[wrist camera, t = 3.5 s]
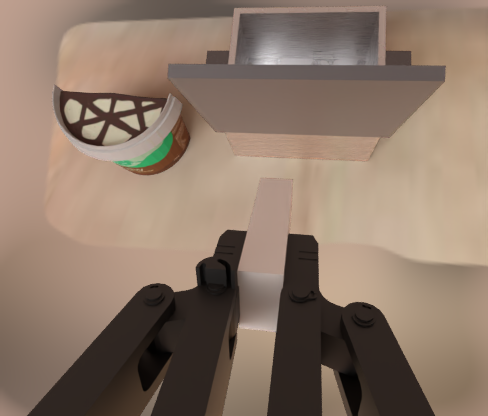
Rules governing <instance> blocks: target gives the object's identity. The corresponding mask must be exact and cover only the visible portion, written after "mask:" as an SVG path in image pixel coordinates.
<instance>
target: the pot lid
mask: <svg viewBox="0 0 488 416" xmlns="http://www.w3.org/2000/svg"><path fill="white" fill-rule="evenodd" d="M445 68H446V66H407V65H253V64H169V65H168V79H169V80H170V81H171V82H172V84H173V85H174V86H175V87H176V88H177V89H178V90H179V91H180V92H181V94H182V95H183V96H184V97H185V98H186V99H187V100H188V101H189V103H190V104H191V105H192V106H193V107H194V108H195V109H196V110H197V112H198V113H199V114H200V115H201V116H202V117H203V118H204V119H205V120H206V122H207V123H208V124H209V125H210V126H211V127H212V128H213V129H214V131H215V132H230V133H260V134H291V135H321V136H352V137H382V138H389V137H390V136H391V135H392V134H393V133H394V132H395V131H396V130H397V129H398V128H399V127H400V126H401V125H402V124H403V123H404V122H405V121H406V120H407V119H408V118H409V117H410V116H411V115H412V114H413V113H414V112H415V111H416V110H417V109H418V108H419V107H420V106H421V105H422V104H423V103H424V102H425V101H426V100H427V99H428V98H429V97H430V96H431V95H432V94H433V93H434V92H435V91H436V90H437V89H438V88H439V87H440V86H441V85H442V84H443V83H444V82H445Z"/></svg>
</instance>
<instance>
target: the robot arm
mask: <svg viewBox="0 0 488 416" xmlns="http://www.w3.org/2000/svg"><path fill="white" fill-rule="evenodd" d="M292 189H293V179H276V178H261V179H260V183H259V187H258V191H257V195H256V199H255V203H254V207H253V211H252V215H251V219H250V223H249V227H248V231H236V230H227V231H226V232H224V233H223V234H222V235H221V236H220V238H219V241H218V244H217V247H216V249H215V253H214V255H213V257H209V258H206V259H203V260H202V261H200V262H199V263H198V264H197V266H196V275H197V284H198V286H197V287H195V288H193V289H190V290H186V291H180V292H173V290H172V289H171V287H169V286H167V285H166V284H160V283H156V284H150V285H148V286H145V287H143V288H142V289H141V290H140V291H138V292H137V293H136V294H135V296H134V297H133V298H132V299H131V300H130V301H129V302H128V303H127V305H126V306H125V307H124V308H123V309H122V310H121V311H120V313H118V315H117V316H116V317H115V318H114V319H113V320H112V321H111V322H110V324H109V325H108V326H107V327H106V328H105V329H104V330H103V331H102V332H101V334H100V335H99V336H98V337H97V338H96V339H95V340H94V341H93V343H92V344H91V345H90V346H89V347H88V348H87V349H86V350H85V352H84V353H83V354H82V355H81V356H80V357H79V359H77V361H76V362H75V363H74V364H73V365H72V366H71V367H70V368H69V370H68V371H67V372H66V373H65V374H64V375H63V376H62V377H61V379H60V380H59V381H58V382H57V383H56V384H55V385H54V386H53V387H52V389H51V390H50V391H49V392H48V393H47V394H46V395H45V396H44V397H43V399H42V400H41V401H40V402H39V403H38V404H37V405H36V406H35V408H34V409H33V410H32V411H31V412H30V413H29V414H28V415H27V416H140V415H141V413H142V412H143V410H144V409H145V407H146V406H147V404H148V402H149V401H150V399H151V398H152V396H153V395H154V393H155V391H156V390H157V388H158V387H159V385H160V384H161V382H162V381H163V383H162V386H161V389H160V391H159V394H158V397H157V400H156V403H155V406H154V408H153V411H152V414H151V416H222V414H223V408H224V404H225V398H226V393H227V389H228V384H229V379H230V374H231V369H232V364H233V359H234V354H235V349H236V344H237V328H238V323H239V328H244V329H253V330H262V331H271V332H276V339H275V348H274V357H273V366H272V375H271V385H270V394H269V403H268V412H267V416H322V394H321V393H322V388H321V364H322V365H324V366H327V367H329V368H332V369H333V371H334V375H335V378H336V381H337V384H338V388H339V391H340V394H341V397H342V400H343V404H344V407H345V410H346V413H347V416H435V415H434V412H433V411H432V409H431V407H430V405H429V403H428V401H427V399H426V397H425V395H424V393H423V391H422V389H421V387H420V385H419V383H418V381H417V379H416V377H415V375H414V373H413V371H412V369H411V367H410V366H409V363H408V362H407V360H406V358H405V356H404V354H403V352H402V350H401V348H400V346H399V344H398V342H397V340H396V338H395V336H394V334H393V332H392V330H391V328H390V326H389V324H388V323H387V320H386V318H385V317H384V315H383V314H382V312H381V311H380V310H379V309H377V308H376V307H375V306H373V305H370V304H368V303H364V302H355V303H350V304H348V305H347V306H346V307H341V306H338V305H335V304H333V303H331V302H329V301H327V300H326V299H325V298H324V297H323V296H322V294H321V293H320V291H319V275H318V274H319V273H318V272H319V269H318V243H317V241H316V240H315V238H314V236H313V235H299V234H290V225H291V207H292ZM163 379H164V380H163Z"/></svg>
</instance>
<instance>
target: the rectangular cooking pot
mask: <svg viewBox="0 0 488 416" xmlns="http://www.w3.org/2000/svg"><path fill="white" fill-rule="evenodd" d="M206 64H253V65H407V66H411V51H386V6H345V7H343V6H342V7H276V8H234V16H233V25H232V34H231V43H230V51H207V59H206ZM225 133H226V136H227V138H228V140H229V143H230V145H231V147H232V150H233V152H234V154H235V156H257V157H281V158H305V159H329V160H353V161H368V159H369V157H370V155H371V153H372V151H373V150H374V148H375V146H376V144H377V142H378V140H379V138H380V137H352V136H321V135H291V134H260V133H230V132H225Z"/></svg>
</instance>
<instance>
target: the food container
mask: <svg viewBox="0 0 488 416" xmlns="http://www.w3.org/2000/svg"><path fill="white" fill-rule="evenodd" d="M52 104H53V110H54V113H55V117H56V119H57V122H58V124H59V126H60V128H61V130H62V131H63V133H64V134H65V135H66V137H67V138H68V139H69V140H70V142H71V143H72V144H73V145H74V146H75V147H76V148H77V149H78V150H79V151H81V152H82V153H84V154H86V155H87V156H90V157H92V158H95V159H98V160H104V161H112V162H114V163H116V164H118V165H119V166H121V167H123V168H125V169H127V170H129V171H131V172H133V173H136V174H140V175H154V174H158V173H161V172H163V171H165V170H167V169H169V168H170V167H172V166H173V165H174V164H175V163H177V162H178V161H179V159H180V158H181V157H182V156H183V154H184V152H185V151H186V149H187V146H188V144H189V140H190V136H189V134H188V131H187V129H186V126H185V124H184V122H183V119H182V117H181V115H180V113H181V109H182V106H183V104H182V103H181V102H180V101H179V100H178V99H177V98H176V97H173V96H172V95H171V93H169V96H168V99H165V98H146V97H137V96H130V95H123V94H116V93H82V92H69V91H63V90H61V89H60V88H59V87H57V86H56V85H55V84H54V87H53V92H52Z"/></svg>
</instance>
